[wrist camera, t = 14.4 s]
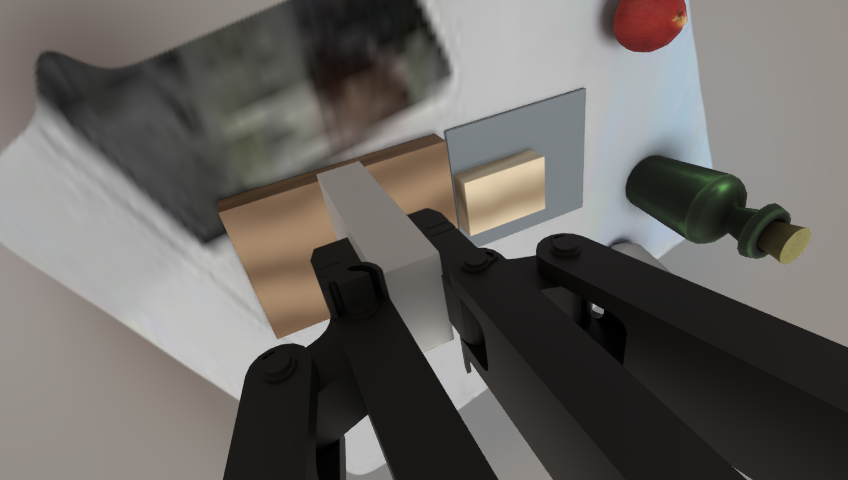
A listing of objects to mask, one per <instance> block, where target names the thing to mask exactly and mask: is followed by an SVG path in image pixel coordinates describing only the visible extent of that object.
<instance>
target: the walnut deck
mask: <svg viewBox="0 0 848 480" xmlns="http://www.w3.org/2000/svg"><path fill="white" fill-rule="evenodd" d="M357 161H359V162H360V163H361V164H362V165H363V166H364V167H365V168H366V170H367V171H368V172H369V173H370V174H371V175H372V176H373V177H374V179H375V180H376V181H377V182H378V183H379V184H380V185H381V187H382V188H383V189H384V190H385V191H386V192H387V193H388V195H389V196H390V197H391V198H392V199H393V200H394V201H395V203H396V204H397V205H398V206H399V207H400V208H401V209H402V211H403V212H404V213H405V214H406V215H408V214H411V213H413V212H416V211H419V210H422V209H425V208H430V209H433V210H435V211H438V212H441V213H442V214H443V215H444V216H445V217H446V218H447V219H448V220H449V222H451V223H452V224H453V225H454V226H455V227H456V228H457V229H458V223H457V216H456V209H455V202H454V194H453V187H452V180H451V173H450V166H449V159H448V152H447V145H446V141H445V140H443V139H442V138H440V137H439V136H437V135H436V134H432V135H429V136H426V137H423V138H419V139H416V140H413V141H410V142H406V143H403V144H400V145H397V146H393V147H390V148H387V149H384V150H380V151H377V152H374V153H371V154H367V155H364V156H361V157H358V158H355V159H351V160H348V161H345V162H342V163H338V164H335V165H332V166H329V167H325V168H322V169H319V170H316V171H312V172H309V173H306V174H303V175H299V176H296V177H293V178H290V179H287V180H283V181H280V182H277V183H274V184H270V185H267V186H264V187H261V188H257V189H254V190H251V191H248V192H244V193H241V194H238V195H235V196H231V197H228V198H225V199H222V200H218V213H219V215H220V218H221V220H222V222H223V224H224V226H225V228H226V230H227V233H228V235H229V237H230V239H231V241H232V243H233V245H234V248H235V250H236V252H237V254H238V256H239V258H240V260H241V263H242V265H243V267H244V269H245V271H246V273H247V275H248V278H249V280H250V282H251V284H252V286H253V288H254V290H255V293H256V295H257V297H258V299H259V301H260V303H261V305H262V308H263V310H264V312H265V314H266V316H267V318H268V320H269V323H270V325H271V327H272V329H273V331H274V333H275V335H276V338H277V339H279V338H282V337H284V336H287V335H289V334H292V333H294V332H297V331H299V330H302V329H304V328H307V327H310V326H312V325H315V324H317V323H320V322H322V321H325V320H327V319H330V318H331V316H330V313H329V310H328V308H327V305H326V302H325V300H324V297H323V294H322V292H321V289H320V286H319V283H318V281H317V278H316V275H315V272H314V270H313V267H312V264H311V261H310V259H311V256H312V253H313V250H314V249H315V248H318V247H321V246H324V245H326V244H329V243H332V242H335V241H337V238H336V235H335V232H334V228H333V225H332V222H331V219H330V216H329V213H328V209H327V206H326V203H325V200H324V197H323V194H322V191H321V187H320V184H319V181H318V178H317V175H316V174H319V173H322V172H325V171H329V170H332V169H335V168H338V167H341V166H345V165H348V164H351V163H354V162H357Z"/></svg>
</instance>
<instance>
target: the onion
mask: <svg viewBox="0 0 848 480" xmlns="http://www.w3.org/2000/svg"><path fill="white" fill-rule="evenodd" d="M687 19H688V18H687V14H686V4H685V2H684V0H621V1H620V3H619V5H618V7H617V9H616V12H615V16H614V21H613V31H614V34H615V36H616V39H617V40H618V42H619V43H620V44H621V45H622V46H624V47H625V48H626V49H628V50H631V51H634V52H652V51H655V50H657V49H659V48H661V47H664V46H666V45H667V44H669V43H670V42H671V41H672V40H673V39H674V38H675V37H676V36H677V35H678V34H679V33H680V32H681V30H682V28H683V26H684V25H685V24H686V22H687Z"/></svg>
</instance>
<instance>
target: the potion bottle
mask: <svg viewBox="0 0 848 480" xmlns="http://www.w3.org/2000/svg"><path fill="white" fill-rule="evenodd" d="M627 197H628V199H629V200H630V202H631V203H632V204H634V205H635V206H637V207H638V208H640V209H641V210H643V211H644V212H646V213H647V214H649V215H650V216H652V217H653V218H655V219H657V220H658V221H660V222H661V223H663V224H664V225H666V226H667V227H669V228H670V229H672V230H673V231H675V232H676V233H678V234H679V235H681V236H683V237H684V238H686V239H687V240H689V241H691V242H694V243H696V244H701V243H703V244H704V243H711V242H715V241H717V240H718V239H720V238H722V237H723V236H725V235H726V234H727V233H729V234H731V235H732V236H733V237H734V238H735V239H736V240H737V241H738V248H737V249H738V252H739V254H740V255H742V256H745V257H749V258H755V259H758V258H763V257H765V256H766V255H768V254H770V255H771V256H773V257H774V258H776V259H777V260H778V261H779V262H781V263H783V264H787V263H790V262H792V261H793V260H795V259H796V258H797V257H798V256H799V255H800V254H801V253H802V252H803V250H804V249H805V248H806V246H807V244H808V242H809V240H810V235H811V232H810V229H808V228H805V227H800V226H796V225H791V224H790V222H791V218H790V214H789V213H788V212H787V211H786V210H784V209H783V208H782V207H781V206H779V205H778V204H776V203H774V204H769V205H766V206H765V207H763V208H762V209H760V210H757V209H751V208H745V206H746V200H747V192H746V189H745V186H744V184H743V183H742V182H741V180H740V179H739V178H737V177H735V176H734V175H732V174H728V173H724V172H720V171H716V170H712V169H709V168H705V167H701V166H697V165H693V164H689V163H685V162H682V161H678V160H674V159H670V158H666V157H662V156H651V157H649V158H648V159H646V160H644V161H642V162H641V163H640V164H639V165H638V166H637V167H636V168H635V169H634V170H633V172H632V174H631V176H630V177H629V180H628V184H627Z"/></svg>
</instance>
